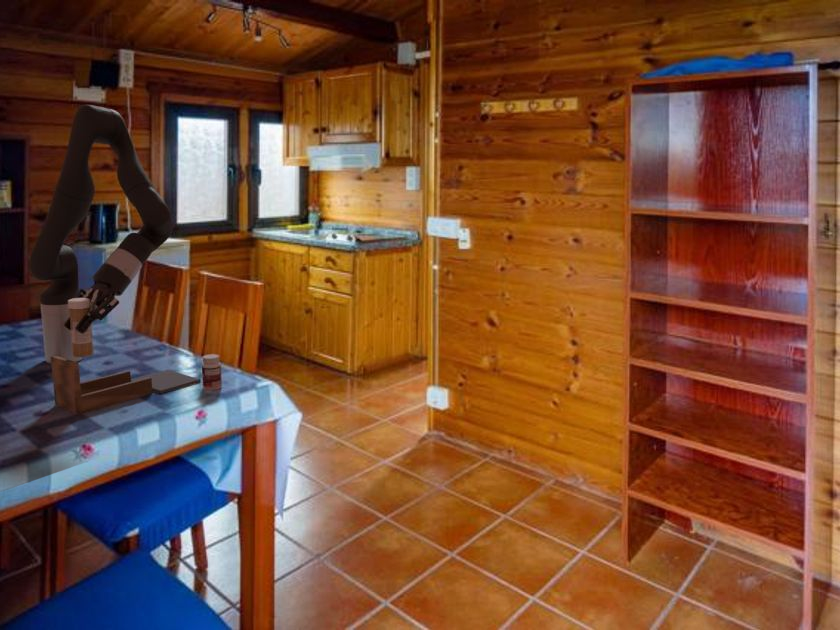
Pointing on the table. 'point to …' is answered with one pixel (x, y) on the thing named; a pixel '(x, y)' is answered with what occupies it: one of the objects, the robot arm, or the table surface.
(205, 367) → the pill bottle
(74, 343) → the sprinkles bottle
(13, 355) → the table surface
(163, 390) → the rubber mat
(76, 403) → the shelf lane
